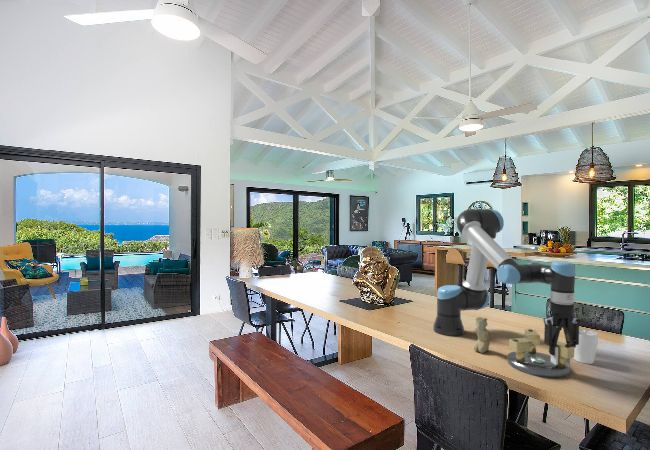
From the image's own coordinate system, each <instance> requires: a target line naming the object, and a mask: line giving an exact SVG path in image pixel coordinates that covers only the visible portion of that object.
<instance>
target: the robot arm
mask: <svg viewBox="0 0 650 450" xmlns="http://www.w3.org/2000/svg"><path fill="white" fill-rule="evenodd" d="M504 225H505V223H504V218H503V216H502V213H501V212H499V210H496V209H490V208H487V209H486V208H477V209H473V208H469V209H466V210H462V212H460V214H458V216H457V219H456V227H457V229H458V232H459V233H460V234H461V236H462V237H464V238H465V239H469V241H470V242H471V250H470V256H469V261H468V267H467V273H466V279H465V280H464V281H462V285H461V286H459V285H456V284H451V285H450V284H446V285H443V286H440V287H438V289H437V292H436V293H437V294H436V317H435V320H434V322H433V332H435V333H437V334H440V335H442V336H443V335H444V336H453V337H457V336H458V337H459V336H463V335H464V334H465V327H464V324H463V321H462V316H461V315H462V314H461V313H462V311H479V310H482V309H485V308H487V306H488V304H489V302H490V295H489V291H488V290H487V286H486V285H485V277H486V274H487V266H488V262H489V263H490V264H492V266H493V267H494V268H495V269H496V276H497V278H498V281H500V282H501V283H503V284H505V285H508V284H509V285H517V284H536V283H537V284H539V283H541V284H546V285H549V286H550V298H549V299H550V304H549V305H550V307H549V309H550V312H551V315H550V316H549V317H548V318H547V317H546V318H545V317H544V318H543V323H544V333H543V334H544V337H543V343H544V344H545V345H547V346H548V353H549V355H550V356H551V362H552V363H553V364H555V365H558V347H556V345H557V341H559V337H560V332H561V331H562V329H563V334H564V338H565V344H568V345H571V346H574V348H575V347H576V345H578V344H579V329H580V323H581V319H580V318H576V317H574V314H575V305H574V303H575V298H576V297H575V295H576V294H575V293H576V292H575V284H576V283H575V282H576V266H575V264H574V263H573V262H571V261H570V262H568V261H558V260H557V261H552V262H551V264H550V265H549V264H543V263H539V262H527V263H526V264H524V263H523V264H519V263H518V262H517V261H516V260H515V259H514V258H512V256H511V255H510V254H508V252H507V251H506V250H505V249H504V248H502V246H500V244H499V243H497V241H495V239H496V237H497V233H500V232H501V231H502V230H503V229H504ZM572 359H573V358H569V359H566V363H567V364H568V365H572V363H573V362H572Z"/></svg>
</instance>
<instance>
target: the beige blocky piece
mask: <svg viewBox="0 0 650 450" xmlns="http://www.w3.org/2000/svg"><path fill="white" fill-rule="evenodd" d="M524 338H526V339H528V340H531V341H532V351H531V352H528V353H529V354H536V352H537V346H540V345H541V335H540V334H539V332H537V330H536V329H531V328H527V329H524Z"/></svg>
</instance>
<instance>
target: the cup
mask: <svg viewBox="0 0 650 450" xmlns="http://www.w3.org/2000/svg"><path fill="white" fill-rule="evenodd" d="M598 336H599V335H598V333H597V332H595V331H593V330H589V329H582V328H579V344H578V345H576V347H575V348H574V357H573V360H574V361H576V362H578V363H580V364H587V365H591V364H594V363H595V358H596V353H597V347H598V344H599V343H598V342H599V339H598Z"/></svg>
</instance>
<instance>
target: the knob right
mask: <svg viewBox="0 0 650 450" xmlns="http://www.w3.org/2000/svg"><path fill="white" fill-rule="evenodd" d="M556 347H558V365H556V366H557V367H558V368H563V369H565V368H566V359H569V358H572V359H574V346H571V345H568V344H567V343H566V342H565V343H564V342H562V341H559V340H558V341H557V345H556Z"/></svg>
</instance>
